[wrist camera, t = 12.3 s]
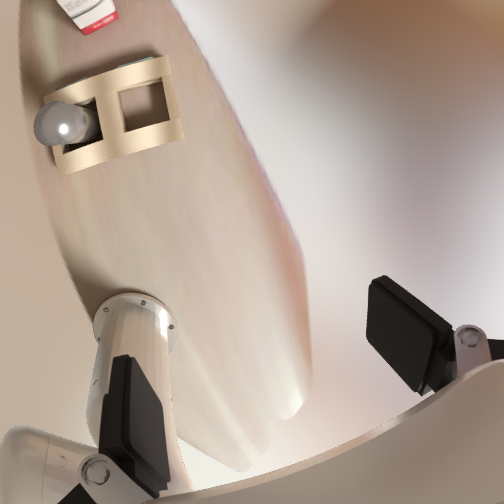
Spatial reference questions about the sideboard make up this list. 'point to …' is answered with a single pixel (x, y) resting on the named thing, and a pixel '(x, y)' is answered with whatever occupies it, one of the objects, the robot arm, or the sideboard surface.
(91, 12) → the ink box
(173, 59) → the sideboard surface
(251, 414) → the sideboard surface
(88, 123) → the peg
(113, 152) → the socket block
